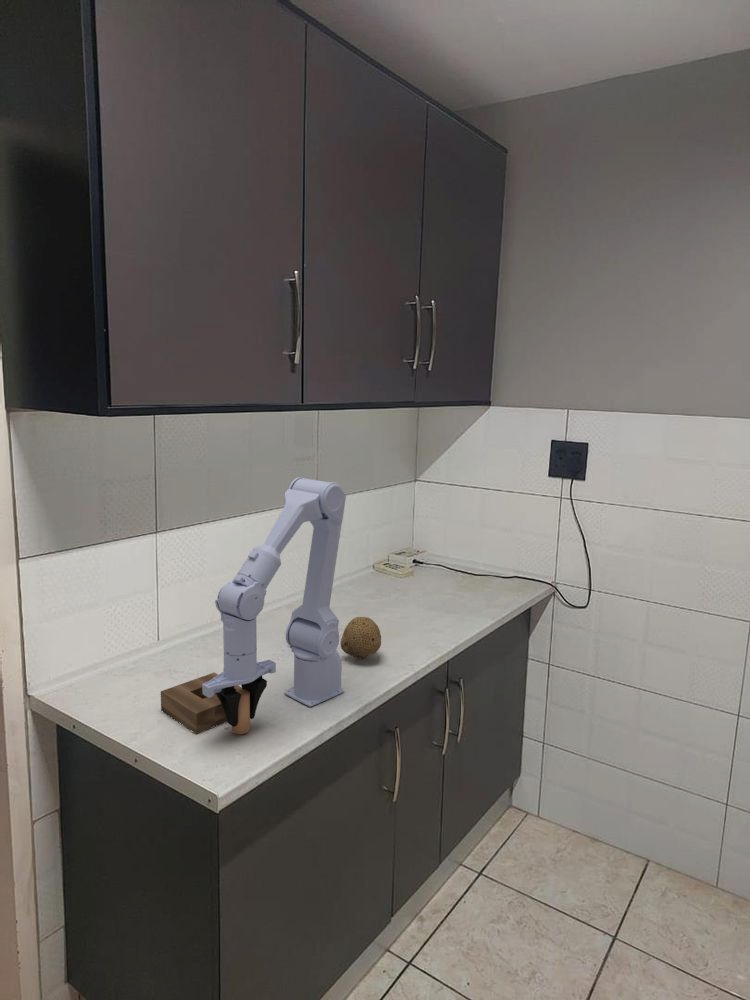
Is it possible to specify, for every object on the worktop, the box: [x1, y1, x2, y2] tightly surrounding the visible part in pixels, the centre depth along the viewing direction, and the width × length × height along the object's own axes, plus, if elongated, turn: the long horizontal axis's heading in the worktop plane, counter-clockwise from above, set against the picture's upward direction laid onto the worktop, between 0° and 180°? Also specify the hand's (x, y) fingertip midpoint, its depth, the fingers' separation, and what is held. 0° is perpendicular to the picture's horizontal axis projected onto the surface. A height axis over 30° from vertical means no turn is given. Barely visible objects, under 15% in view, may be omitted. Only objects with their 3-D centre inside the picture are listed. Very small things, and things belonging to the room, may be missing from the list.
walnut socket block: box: [160, 672, 242, 735], centre depth 130 cm, size 12×12×4 cm
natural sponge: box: [340, 616, 382, 660], centre depth 156 cm, size 9×9×10 cm
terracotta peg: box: [231, 689, 251, 735], centre depth 123 cm, size 3×3×7 cm
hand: (240, 720), depth 123 cm, fingers closed on terracotta peg, 3 cm apart
